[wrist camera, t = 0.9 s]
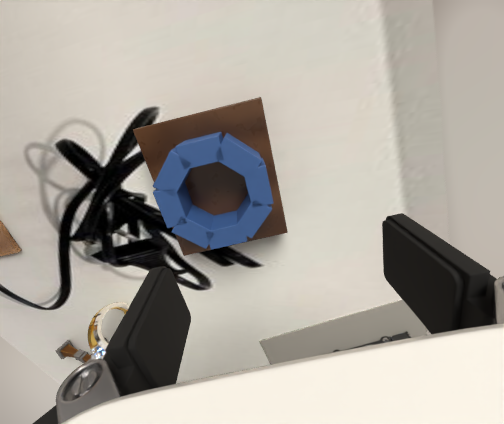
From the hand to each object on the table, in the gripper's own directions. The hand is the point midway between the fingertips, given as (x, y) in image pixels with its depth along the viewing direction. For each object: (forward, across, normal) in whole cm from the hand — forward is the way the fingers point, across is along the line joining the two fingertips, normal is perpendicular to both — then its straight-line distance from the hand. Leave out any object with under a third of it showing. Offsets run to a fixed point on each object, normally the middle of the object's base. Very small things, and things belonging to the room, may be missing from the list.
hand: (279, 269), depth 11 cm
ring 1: (+18, +21, +15) cm, 32 cm away
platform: (+18, +4, 0) cm, 19 cm away
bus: (+19, -8, +32) cm, 38 cm away
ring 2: (+15, +4, 0) cm, 16 cm away
